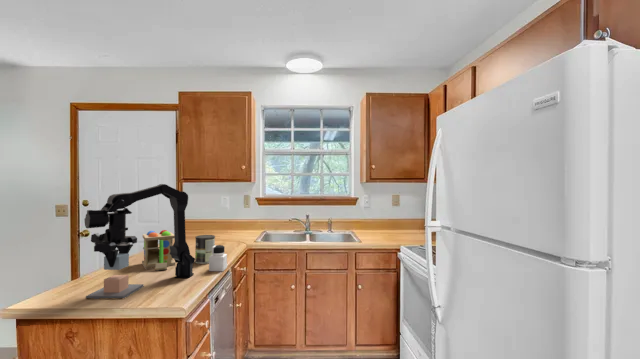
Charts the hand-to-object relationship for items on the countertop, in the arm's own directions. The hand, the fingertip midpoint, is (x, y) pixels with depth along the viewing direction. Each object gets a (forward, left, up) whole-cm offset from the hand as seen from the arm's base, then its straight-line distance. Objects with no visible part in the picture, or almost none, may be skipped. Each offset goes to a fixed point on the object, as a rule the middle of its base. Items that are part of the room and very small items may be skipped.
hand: (116, 265), depth 127 cm
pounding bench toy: (+2, -41, -11) cm, 42 cm away
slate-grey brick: (0, 0, -1) cm, 1 cm away
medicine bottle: (-30, -34, -11) cm, 47 cm away
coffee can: (-18, -50, -11) cm, 54 cm away
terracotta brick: (0, 0, -10) cm, 10 cm away
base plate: (0, 0, -11) cm, 11 cm away
